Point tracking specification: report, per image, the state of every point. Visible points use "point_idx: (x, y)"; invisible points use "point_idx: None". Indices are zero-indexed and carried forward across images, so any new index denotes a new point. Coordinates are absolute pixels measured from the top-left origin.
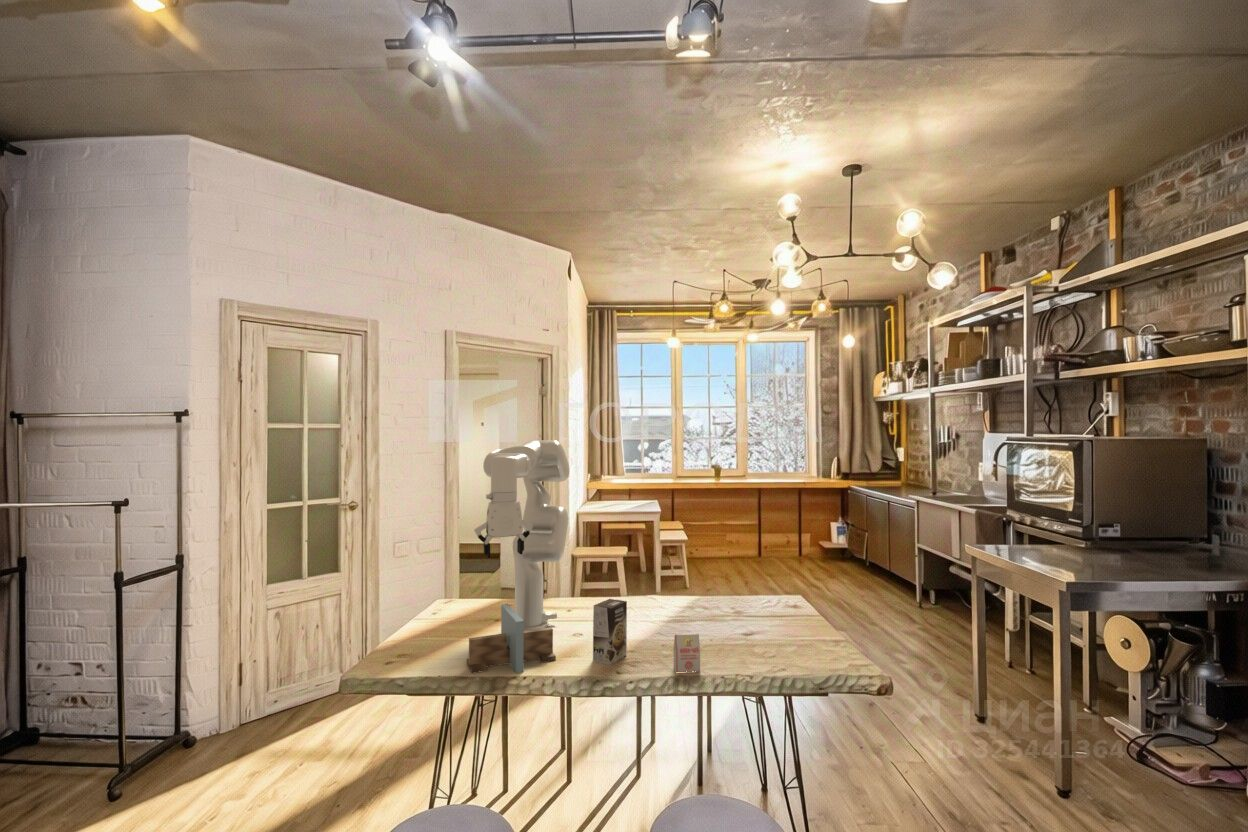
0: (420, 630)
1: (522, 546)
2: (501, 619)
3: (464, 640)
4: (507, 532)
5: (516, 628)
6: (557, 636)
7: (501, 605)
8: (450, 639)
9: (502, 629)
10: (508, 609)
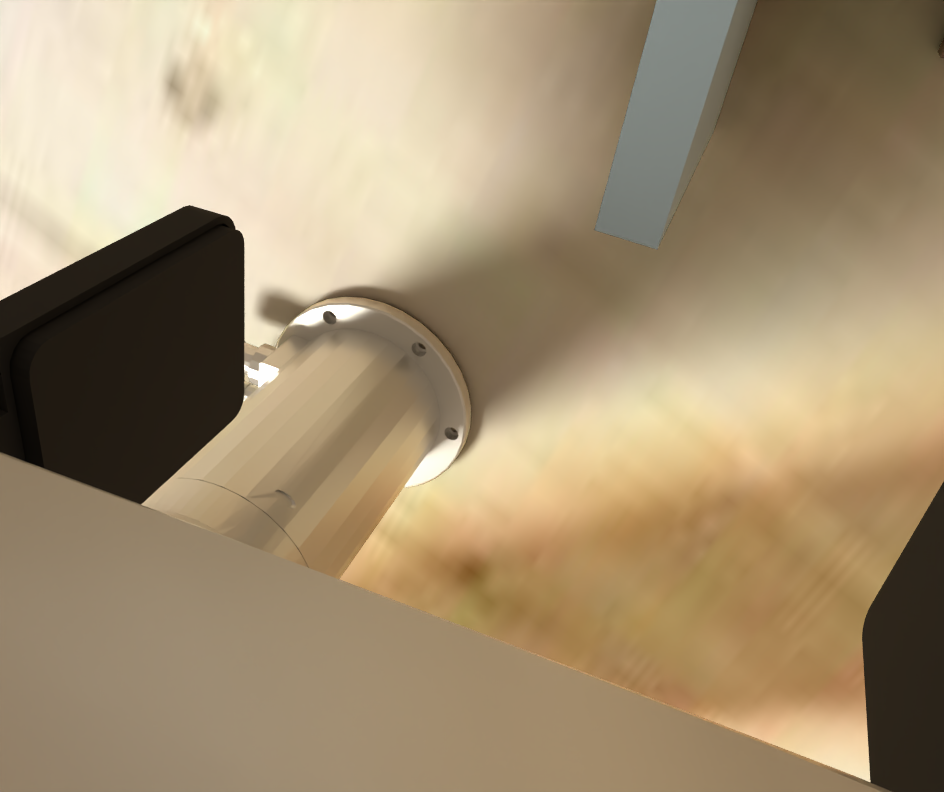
0: None
1: (74, 266)
2: (681, 197)
3: (779, 454)
4: (206, 711)
5: None
6: (301, 145)
7: (659, 244)
8: (833, 520)
9: (704, 138)
10: (689, 50)
